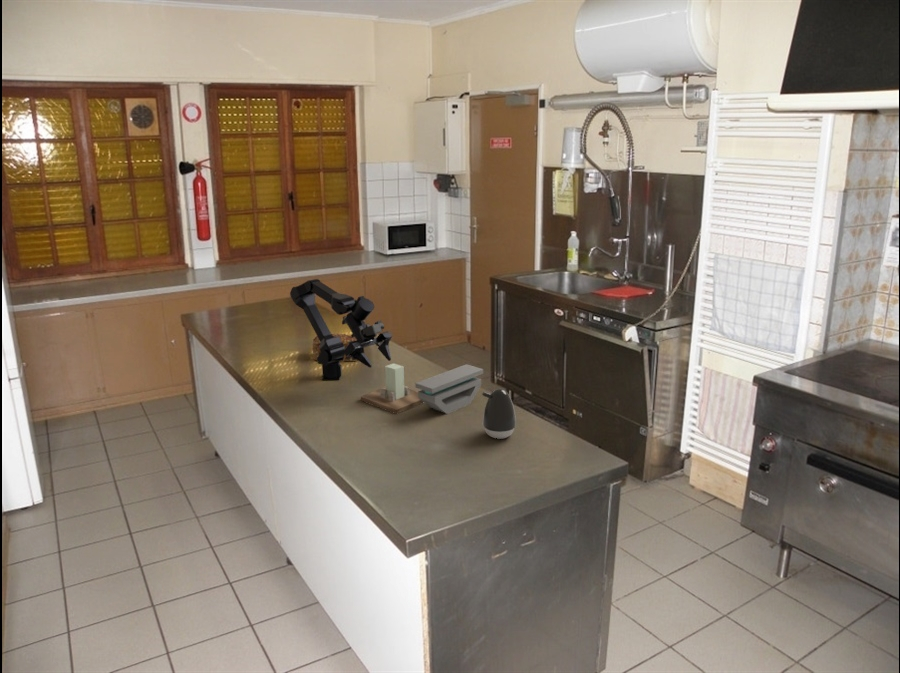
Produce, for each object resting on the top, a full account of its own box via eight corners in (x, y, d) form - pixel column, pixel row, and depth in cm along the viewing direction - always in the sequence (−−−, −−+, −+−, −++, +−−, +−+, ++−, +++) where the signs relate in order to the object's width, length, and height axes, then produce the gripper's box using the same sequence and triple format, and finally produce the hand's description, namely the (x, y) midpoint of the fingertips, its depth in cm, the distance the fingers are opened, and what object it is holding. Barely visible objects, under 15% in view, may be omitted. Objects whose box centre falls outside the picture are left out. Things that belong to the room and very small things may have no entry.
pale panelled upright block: (393, 392, 244) (392, 362, 241) (404, 396, 241) (403, 366, 237) (385, 395, 242) (383, 365, 238) (396, 399, 238) (395, 369, 235)
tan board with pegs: (396, 414, 230) (396, 401, 229) (360, 400, 241) (360, 388, 240) (429, 400, 241) (429, 387, 240) (393, 387, 253) (393, 376, 251)
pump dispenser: (479, 429, 218) (480, 383, 214) (512, 427, 219) (513, 382, 215) (484, 443, 209) (484, 396, 204) (518, 441, 209) (519, 394, 205)
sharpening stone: (432, 420, 225) (432, 388, 222) (416, 413, 230) (415, 383, 227) (483, 398, 242) (483, 369, 239) (466, 393, 248) (466, 364, 244)
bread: (312, 361, 281) (311, 338, 278) (319, 353, 292) (318, 330, 289) (358, 362, 280) (356, 339, 277) (363, 354, 290) (362, 331, 287)
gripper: (347, 320, 234) (371, 358, 230) (388, 309, 247) (410, 345, 243) (334, 337, 241) (356, 375, 238) (374, 326, 255) (395, 361, 251)
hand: (380, 363), depth 242 cm, fingers open, 9 cm apart
